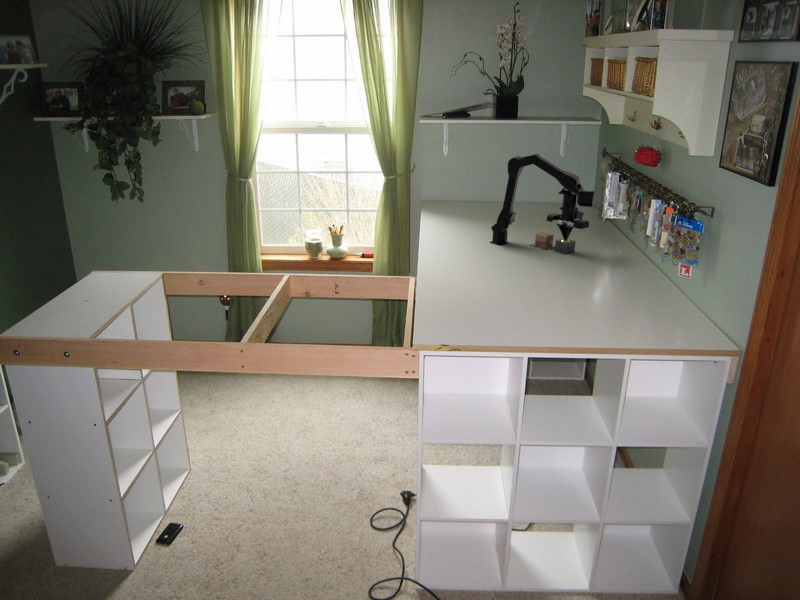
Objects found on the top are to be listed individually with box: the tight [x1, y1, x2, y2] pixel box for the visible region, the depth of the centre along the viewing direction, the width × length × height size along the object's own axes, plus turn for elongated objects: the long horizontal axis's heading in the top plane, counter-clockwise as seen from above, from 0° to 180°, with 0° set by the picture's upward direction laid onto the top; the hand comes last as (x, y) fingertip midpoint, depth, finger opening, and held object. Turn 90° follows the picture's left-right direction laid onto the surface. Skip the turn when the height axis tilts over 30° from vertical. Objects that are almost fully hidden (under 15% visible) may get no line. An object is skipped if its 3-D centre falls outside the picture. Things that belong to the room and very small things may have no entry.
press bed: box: [529, 242, 556, 251], centre depth 293 cm, size 9×9×1 cm
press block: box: [554, 237, 577, 255], centre depth 283 cm, size 6×6×5 cm
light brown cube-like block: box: [534, 231, 554, 247], centre depth 292 cm, size 6×6×5 cm
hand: (565, 240), depth 282 cm, fingers closed, pressing on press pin
